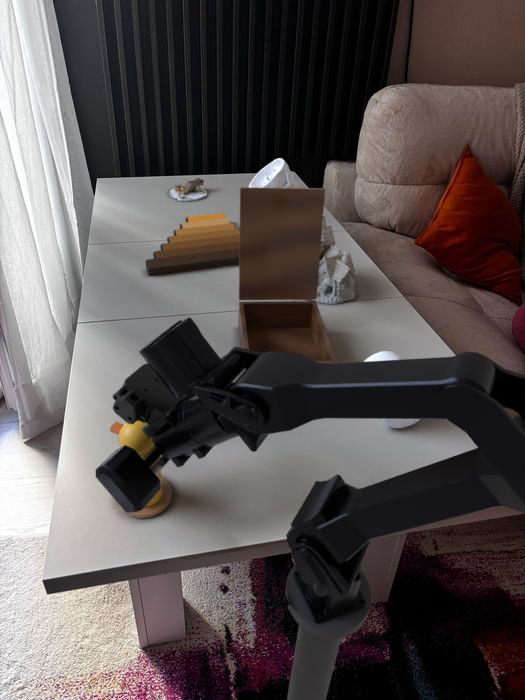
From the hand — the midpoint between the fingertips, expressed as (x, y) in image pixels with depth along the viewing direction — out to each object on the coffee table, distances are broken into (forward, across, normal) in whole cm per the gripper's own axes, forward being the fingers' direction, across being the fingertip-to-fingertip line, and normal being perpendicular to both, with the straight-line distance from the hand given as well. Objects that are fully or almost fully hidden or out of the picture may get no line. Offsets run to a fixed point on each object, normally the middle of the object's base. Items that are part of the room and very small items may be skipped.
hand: (132, 454), depth 69 cm
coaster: (+4, 0, +6) cm, 7 cm away
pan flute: (+31, -67, -20) cm, 76 cm away
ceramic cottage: (+7, -64, +4) cm, 65 cm away
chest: (+2, -37, +8) cm, 38 cm away
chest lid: (-5, -46, -9) cm, 47 cm away
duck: (+4, 0, +6) cm, 7 cm away
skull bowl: (+29, -109, -19) cm, 115 cm away
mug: (-13, -35, +23) cm, 44 cm away
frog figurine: (+45, -98, -35) cm, 113 cm away
